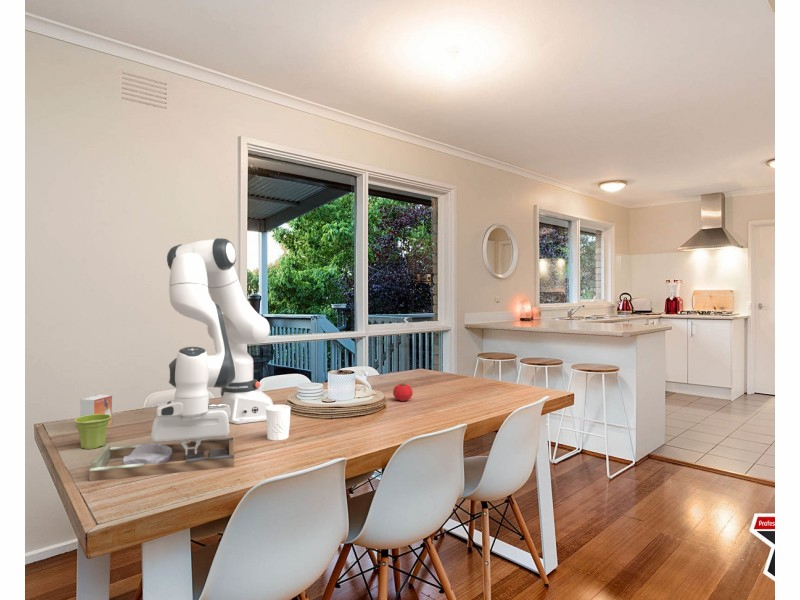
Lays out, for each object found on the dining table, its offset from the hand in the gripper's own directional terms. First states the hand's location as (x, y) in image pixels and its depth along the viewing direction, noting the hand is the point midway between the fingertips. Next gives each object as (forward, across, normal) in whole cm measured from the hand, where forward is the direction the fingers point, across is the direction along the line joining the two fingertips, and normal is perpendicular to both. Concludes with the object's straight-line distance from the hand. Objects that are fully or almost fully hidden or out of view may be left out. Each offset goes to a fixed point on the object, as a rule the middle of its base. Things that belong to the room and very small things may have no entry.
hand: (191, 454), depth 135 cm
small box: (+2, +32, -43) cm, 54 cm away
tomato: (+2, -84, -53) cm, 99 cm away
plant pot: (+2, +29, -21) cm, 36 cm away
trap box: (+2, +6, 0) cm, 6 cm away
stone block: (+2, +11, -1) cm, 11 cm away
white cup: (+2, -25, -14) cm, 29 cm away
